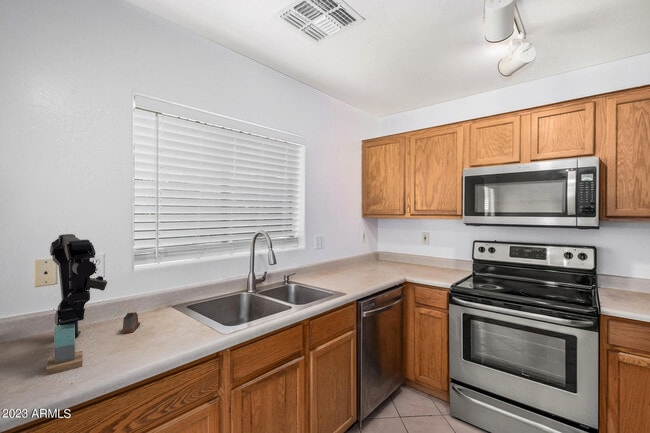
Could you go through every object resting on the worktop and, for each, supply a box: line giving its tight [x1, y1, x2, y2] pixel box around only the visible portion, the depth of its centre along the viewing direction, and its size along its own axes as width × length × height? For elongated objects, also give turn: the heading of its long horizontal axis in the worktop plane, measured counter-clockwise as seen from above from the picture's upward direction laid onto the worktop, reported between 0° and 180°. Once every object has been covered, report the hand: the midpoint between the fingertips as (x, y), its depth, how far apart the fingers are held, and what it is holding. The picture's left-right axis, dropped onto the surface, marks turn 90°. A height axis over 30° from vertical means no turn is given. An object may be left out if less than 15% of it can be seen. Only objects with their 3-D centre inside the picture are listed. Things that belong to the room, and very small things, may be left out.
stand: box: [45, 350, 84, 376], centre depth 103 cm, size 9×9×2 cm
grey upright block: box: [121, 311, 141, 335], centre depth 134 cm, size 4×10×8 cm, turn 15°
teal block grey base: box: [53, 323, 76, 364], centre depth 103 cm, size 5×5×11 cm
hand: (79, 314), depth 115 cm, fingers open, 9 cm apart
